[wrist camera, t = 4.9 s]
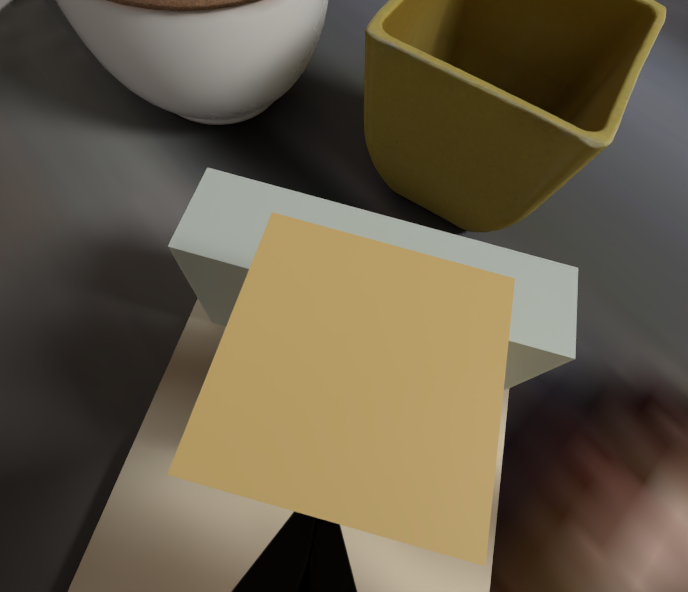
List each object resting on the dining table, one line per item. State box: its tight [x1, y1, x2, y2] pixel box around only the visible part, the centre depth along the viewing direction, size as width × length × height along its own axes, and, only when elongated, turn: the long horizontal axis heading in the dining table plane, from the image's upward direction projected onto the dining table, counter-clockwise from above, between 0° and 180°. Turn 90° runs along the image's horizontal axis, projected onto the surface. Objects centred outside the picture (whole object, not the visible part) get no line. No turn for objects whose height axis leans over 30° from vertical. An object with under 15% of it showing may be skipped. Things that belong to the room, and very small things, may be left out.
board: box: [68, 299, 509, 592], centre depth 17 cm, size 17×14×1 cm
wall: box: [168, 167, 578, 390], centre depth 16 cm, size 3×12×6 cm, turn 75°
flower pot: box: [364, 0, 666, 232], centre depth 19 cm, size 9×9×9 cm
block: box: [167, 212, 515, 566], centre depth 12 cm, size 8×5×10 cm, turn 165°
